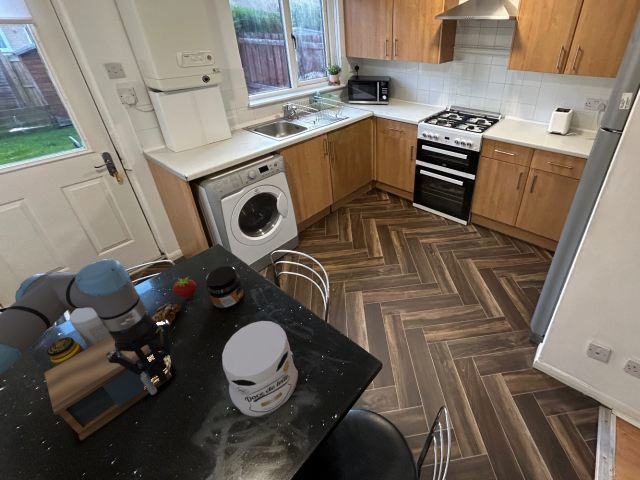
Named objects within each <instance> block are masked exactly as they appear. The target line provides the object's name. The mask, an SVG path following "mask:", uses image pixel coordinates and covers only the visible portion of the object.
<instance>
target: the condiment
mask: <svg viewBox="0 0 640 480" xmlns="http://www.w3.org/2000/svg"><path fill="white" fill-rule="evenodd" d="M85 350H86V349H84V348H83V346H82V345H81V343H79V342H77V341H76V340H74V338H73V337H70V336H66V337H62V338H59V339H57V340H56V341H54V342H52V344H51V345H49V347H48V348H47V350H46V354H47V355H48V356H49V359H50V362H51V363H52V364H53V365H54V367H56V366H57V365H59V364H61V363H63V362H65V361H67V360H68V359H70V358H72V357H74V356H76V355H77V354H79V353H81V352H83V351H85Z"/></svg>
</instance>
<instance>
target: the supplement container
mask: <svg viewBox="0 0 640 480" xmlns="http://www.w3.org/2000/svg"><path fill="white" fill-rule="evenodd" d="M237 272H238V271H237V269H236V268H235V267H234V266H231V265H223V266H219V267H217V268H214V269H213V270H212V271H210V272H209V273H208V274H207V276H206V277H205V283H206V291H207V293H208V294H209V297H210V300H211V304H212V306H213V307H214V308H215V309H217V310H221V311H226V310H231V309H233V308H234V307H236V306H238V305H239V304H240V303H241V302H242V300H243V299H244V296H245V291H244V289H243V285H242V282H241V277H240V275H239V274H238V273H237Z"/></svg>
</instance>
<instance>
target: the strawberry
mask: <svg viewBox="0 0 640 480" xmlns="http://www.w3.org/2000/svg"><path fill="white" fill-rule="evenodd" d="M190 276H191V275H188V276H187V277H184V278H179V279H178V280H177V281H175V283H174V284H173V286H172V289H173V292H174V293H175V294H176V295H177V296H179V297H182V298H184V299H188V300H189V299H191V298H192V297H193V295H194V294H195V292H196V290H197V283H196V282H195V281H194V280H193V279H192V278H190Z"/></svg>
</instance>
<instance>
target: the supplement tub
mask: <svg viewBox="0 0 640 480" xmlns="http://www.w3.org/2000/svg"><path fill="white" fill-rule="evenodd" d="M69 322H70V324H71V326H72V327H73V329H74V330H75V331H76V332H77V333H78V335H79V336H80V337H81V339H82V340H83V341H84V342H85V343H86V345H87V346H88V348H90V347H92V346H94V345H95V344H97V343H99V342H101V341H103V340H104V339H106V338H108V337H110V336H111V335H110V333H109V332H108V330H107V329H106V327H105V326H104V324H103V323H102V321H101V320H100V318H99V317H98V315H97V313H96V312H95V311H94V309H93V308H78V309H73V311H72V313H70V315H69Z"/></svg>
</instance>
